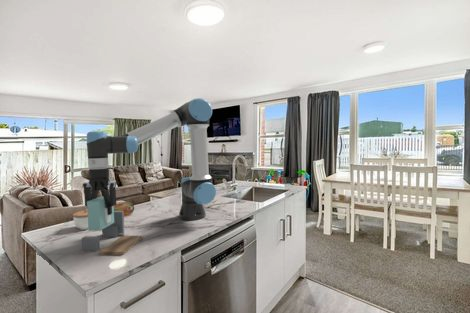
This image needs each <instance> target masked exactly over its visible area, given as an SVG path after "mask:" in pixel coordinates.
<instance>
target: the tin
mask: <svg viewBox="0 0 470 313" xmlns="http://www.w3.org/2000/svg"><path fill="white" fill-rule="evenodd" d="M113 207H114V211H124V218H125V217H129V216H131V215H132V214H133V213H134V211H135V205H134V204H133V202H130V201H122V202H118V203H117V202H116V205H114V206H113Z"/></svg>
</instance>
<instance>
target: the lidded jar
mask: <svg viewBox="0 0 470 313" xmlns="http://www.w3.org/2000/svg"><path fill="white" fill-rule="evenodd" d="M72 217H73V222H74V225H75V226H76V228H78V229H79V230H81V231H82V230H88V213H87V208H85V209H84V210H80V211H76V212H75V213H73V214H72Z"/></svg>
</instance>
